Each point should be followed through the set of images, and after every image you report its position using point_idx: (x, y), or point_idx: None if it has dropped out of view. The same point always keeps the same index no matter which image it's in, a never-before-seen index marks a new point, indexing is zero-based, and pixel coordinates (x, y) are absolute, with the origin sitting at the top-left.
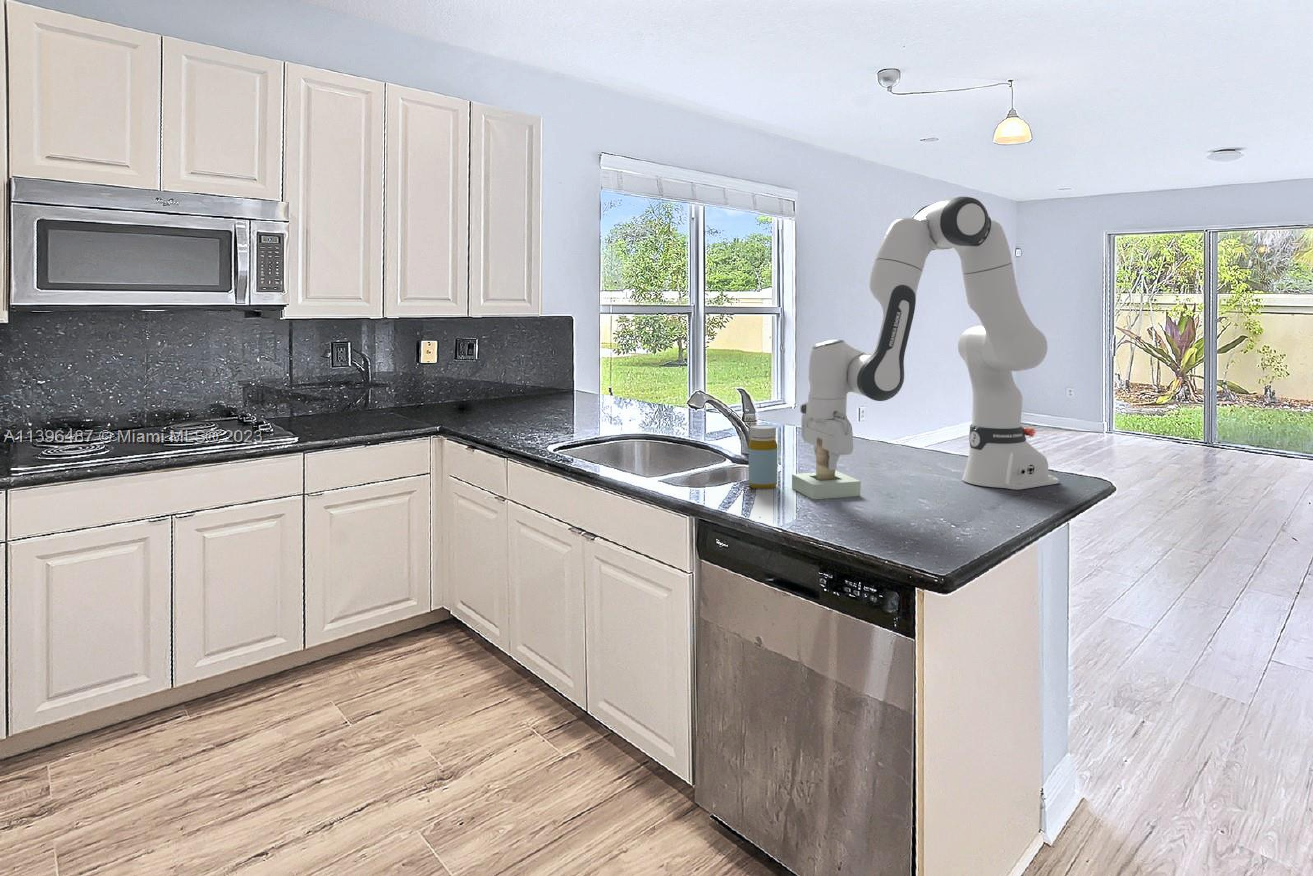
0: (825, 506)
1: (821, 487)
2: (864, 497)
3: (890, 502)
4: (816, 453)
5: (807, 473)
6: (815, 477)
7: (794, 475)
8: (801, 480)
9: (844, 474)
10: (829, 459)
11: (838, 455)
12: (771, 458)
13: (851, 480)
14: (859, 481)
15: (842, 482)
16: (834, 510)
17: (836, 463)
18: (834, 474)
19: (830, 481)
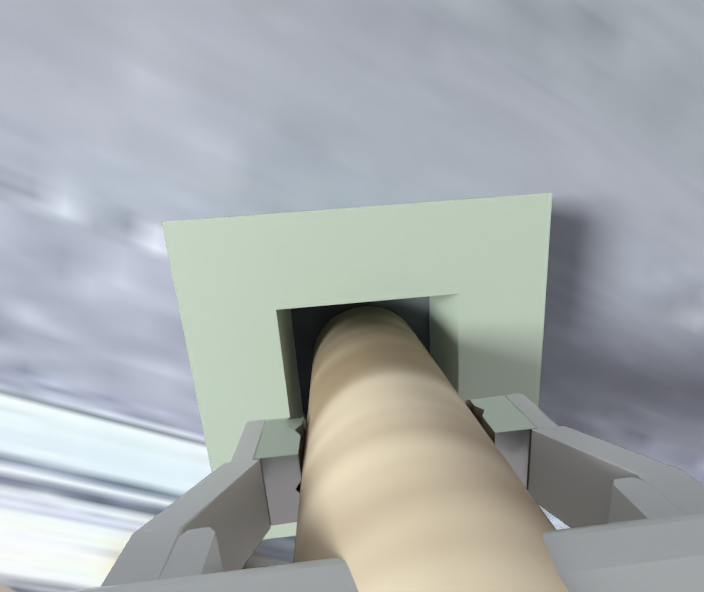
0: (613, 434)
1: None
2: (535, 189)
3: (683, 94)
4: (237, 567)
5: (220, 454)
6: (292, 415)
7: (264, 538)
8: None
9: (305, 216)
10: (575, 522)
11: (684, 487)
12: None
13: (508, 249)
14: (551, 204)
15: (540, 331)
16: (684, 420)
17: (549, 419)
18: (425, 351)
19: (489, 393)
